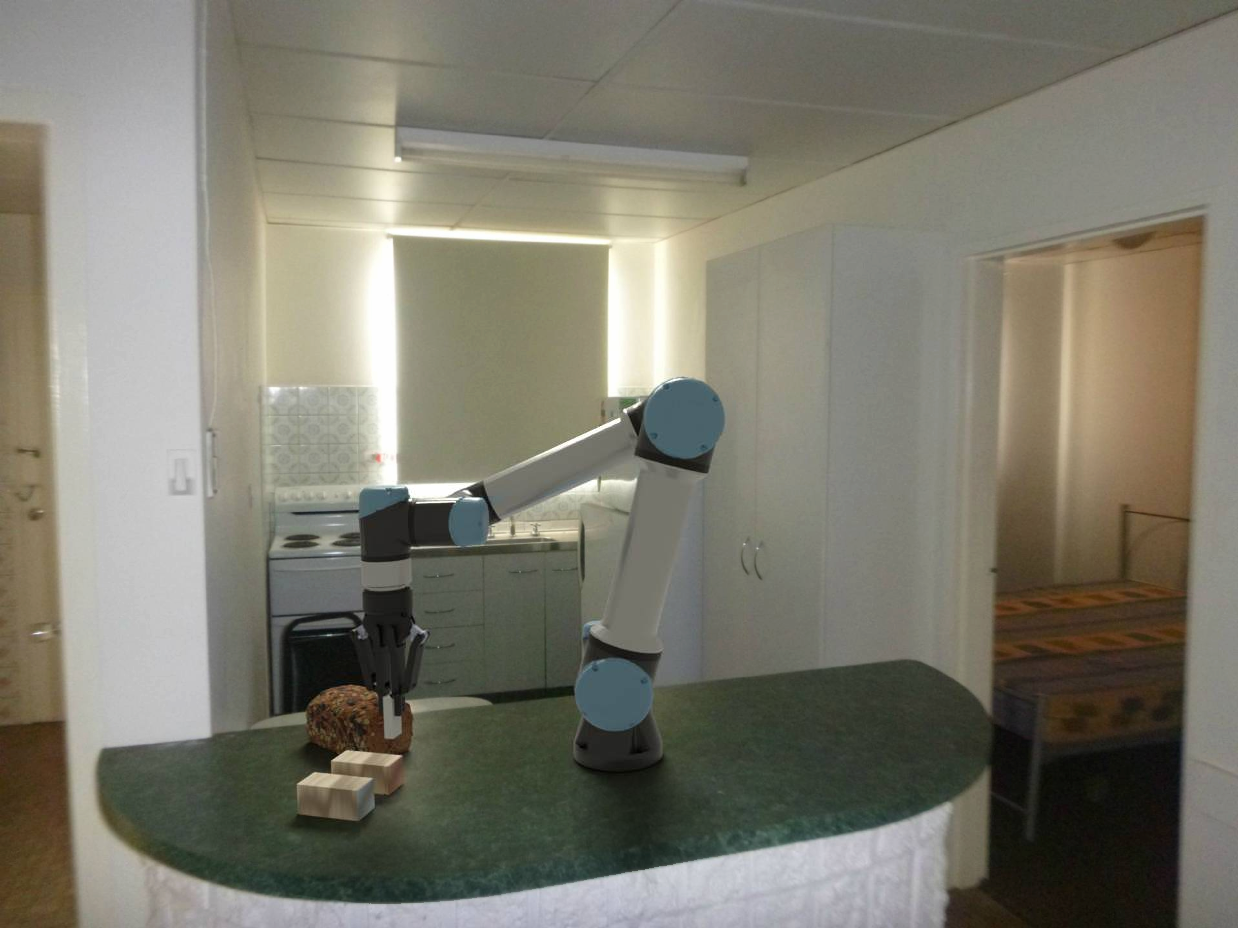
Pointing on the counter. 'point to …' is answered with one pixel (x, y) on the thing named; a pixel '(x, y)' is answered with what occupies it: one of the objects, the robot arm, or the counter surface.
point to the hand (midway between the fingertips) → (393, 735)
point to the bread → (354, 722)
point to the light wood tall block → (371, 769)
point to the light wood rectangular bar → (335, 796)
